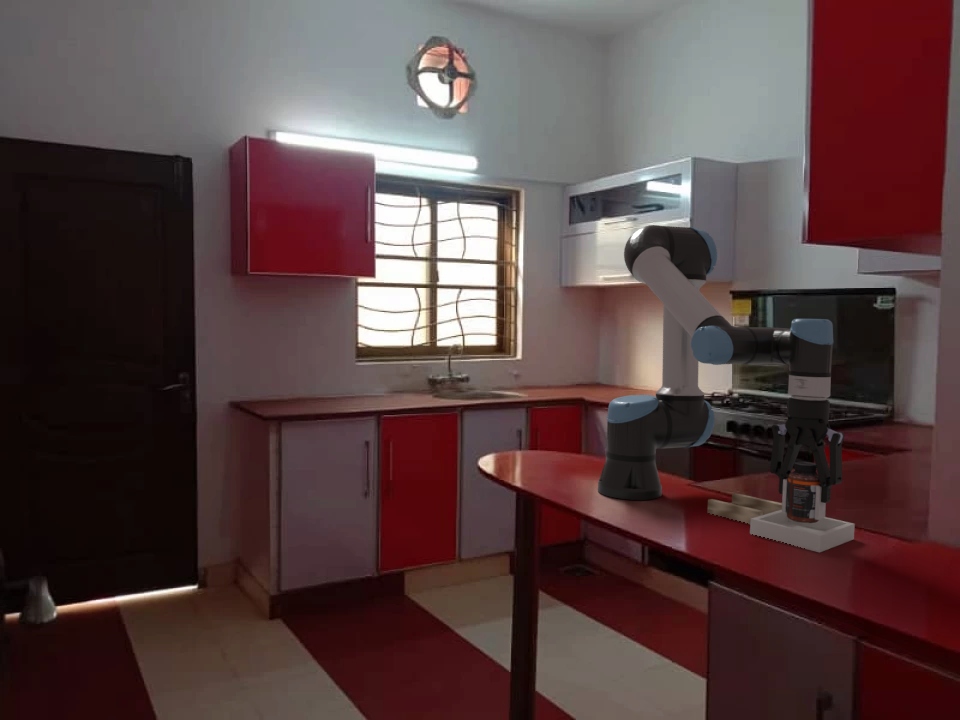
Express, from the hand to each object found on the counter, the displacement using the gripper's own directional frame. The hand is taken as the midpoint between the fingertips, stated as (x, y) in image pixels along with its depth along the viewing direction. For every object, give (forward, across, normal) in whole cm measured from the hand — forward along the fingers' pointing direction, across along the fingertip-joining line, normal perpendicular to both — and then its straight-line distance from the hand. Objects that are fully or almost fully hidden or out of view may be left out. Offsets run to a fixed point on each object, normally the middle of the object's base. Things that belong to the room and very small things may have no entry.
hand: (803, 514), depth 146 cm
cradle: (+4, -15, +5) cm, 16 cm away
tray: (+4, 0, 0) cm, 4 cm away
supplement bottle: (+1, 0, 0) cm, 1 cm away
